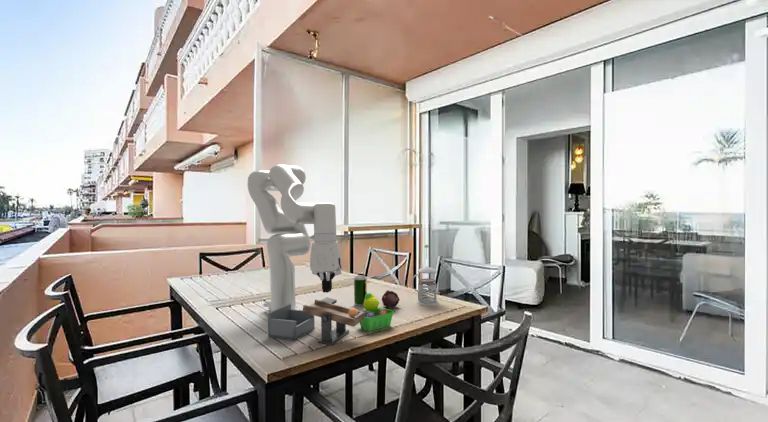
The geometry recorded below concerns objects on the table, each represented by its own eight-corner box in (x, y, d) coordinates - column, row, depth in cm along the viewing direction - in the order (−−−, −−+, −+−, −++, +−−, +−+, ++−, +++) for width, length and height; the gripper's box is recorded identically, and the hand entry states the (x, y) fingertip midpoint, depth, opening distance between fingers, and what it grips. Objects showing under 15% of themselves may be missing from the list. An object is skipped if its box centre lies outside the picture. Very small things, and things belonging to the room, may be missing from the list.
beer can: (355, 306, 155) (354, 277, 155) (353, 303, 160) (353, 275, 160) (368, 305, 156) (367, 277, 156) (365, 302, 162) (365, 275, 162)
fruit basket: (367, 333, 122) (367, 299, 122) (353, 326, 129) (353, 294, 129) (395, 326, 128) (394, 293, 128) (380, 320, 136) (379, 289, 136)
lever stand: (317, 343, 113) (316, 315, 113) (336, 330, 125) (335, 305, 125) (332, 345, 111) (331, 317, 111) (349, 331, 123) (349, 306, 123)
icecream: (405, 295, 147) (396, 290, 162) (387, 291, 146) (380, 287, 160) (401, 312, 146) (392, 306, 161) (383, 309, 145) (376, 303, 159)
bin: (268, 337, 119) (267, 312, 119) (289, 326, 131) (289, 303, 130) (295, 340, 116) (294, 315, 116) (314, 328, 127) (314, 305, 127)
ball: (345, 316, 115) (348, 307, 115) (349, 313, 118) (352, 305, 118) (353, 320, 114) (356, 312, 114) (357, 318, 117) (360, 309, 117)
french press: (441, 305, 155) (440, 245, 155) (413, 306, 154) (412, 246, 154) (436, 299, 165) (435, 243, 164) (410, 300, 164) (409, 243, 164)
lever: (302, 312, 117) (303, 304, 117) (326, 299, 132) (327, 293, 132) (354, 326, 112) (355, 318, 111) (372, 312, 127) (373, 305, 126)
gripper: (300, 239, 127) (302, 293, 126) (340, 239, 122) (342, 295, 122) (311, 237, 134) (313, 288, 134) (349, 237, 129) (351, 290, 129)
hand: (327, 291), depth 128 cm, fingers closed
